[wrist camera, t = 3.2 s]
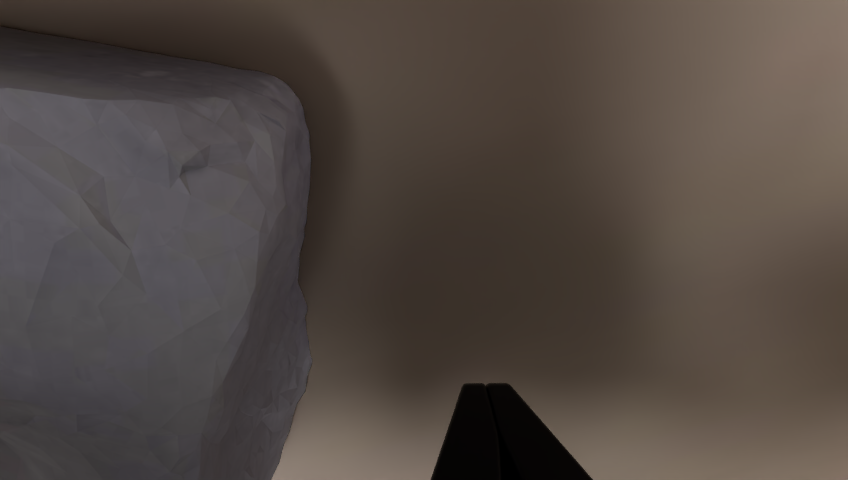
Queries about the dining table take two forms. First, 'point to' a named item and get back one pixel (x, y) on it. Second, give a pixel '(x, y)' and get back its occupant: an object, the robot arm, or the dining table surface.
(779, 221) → the dining table surface
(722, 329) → the dining table surface
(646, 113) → the dining table surface
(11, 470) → the stone block
